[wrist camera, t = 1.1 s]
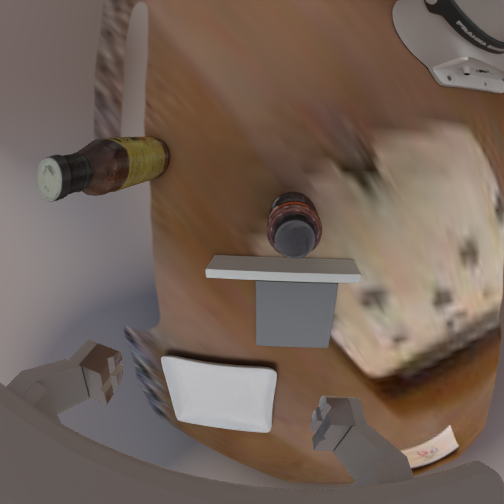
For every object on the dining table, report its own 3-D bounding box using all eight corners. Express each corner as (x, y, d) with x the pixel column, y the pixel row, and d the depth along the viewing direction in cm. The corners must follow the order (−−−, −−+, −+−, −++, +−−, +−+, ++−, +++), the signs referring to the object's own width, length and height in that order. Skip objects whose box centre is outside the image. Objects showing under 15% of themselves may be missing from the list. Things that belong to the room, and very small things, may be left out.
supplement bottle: (262, 203, 37) (252, 225, 27) (302, 183, 35) (309, 197, 25) (283, 241, 39) (281, 277, 28) (322, 222, 37) (335, 252, 26)
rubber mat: (337, 281, 40) (338, 283, 39) (327, 345, 44) (327, 347, 43) (256, 279, 41) (255, 281, 41) (256, 342, 45) (256, 345, 45)
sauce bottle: (163, 129, 35) (63, 125, 16) (176, 170, 37) (84, 195, 18) (126, 148, 36) (23, 161, 18) (139, 186, 38) (42, 222, 20)
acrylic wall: (353, 259, 38) (361, 274, 34) (352, 267, 39) (360, 283, 34) (214, 254, 41) (205, 269, 36) (215, 262, 41) (206, 277, 36)
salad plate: (278, 358, 47) (277, 371, 43) (271, 422, 54) (270, 434, 51) (165, 344, 49) (158, 356, 46) (181, 410, 57) (177, 421, 53)
